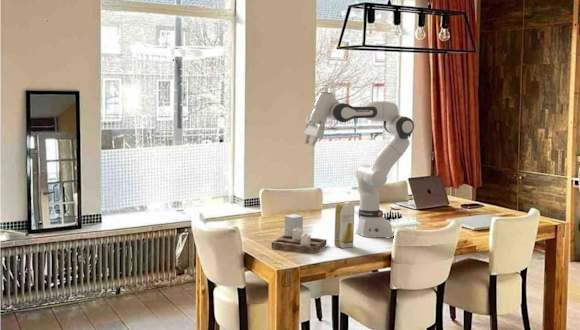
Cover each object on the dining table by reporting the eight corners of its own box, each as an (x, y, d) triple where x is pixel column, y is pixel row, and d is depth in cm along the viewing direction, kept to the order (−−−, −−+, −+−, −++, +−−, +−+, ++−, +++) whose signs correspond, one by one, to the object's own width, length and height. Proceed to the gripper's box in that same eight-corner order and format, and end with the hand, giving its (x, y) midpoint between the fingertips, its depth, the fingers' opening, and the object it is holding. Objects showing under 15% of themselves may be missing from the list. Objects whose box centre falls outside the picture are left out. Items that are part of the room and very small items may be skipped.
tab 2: (310, 246, 332) (310, 233, 331) (307, 248, 329) (308, 234, 328) (302, 246, 333) (303, 232, 332) (300, 247, 330) (300, 234, 329)
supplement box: (302, 238, 354) (303, 216, 352) (292, 240, 349) (292, 217, 347) (294, 235, 359) (294, 213, 358) (284, 237, 355) (284, 215, 353)
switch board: (326, 245, 341) (326, 239, 341) (315, 253, 325) (315, 247, 324) (284, 240, 350) (284, 234, 349) (271, 248, 333) (271, 242, 333)
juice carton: (341, 249, 334) (343, 203, 331) (332, 245, 340) (333, 201, 337) (355, 246, 339) (356, 202, 336) (345, 243, 346) (346, 199, 342)
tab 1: (301, 241, 343) (302, 228, 342) (299, 242, 340) (299, 229, 339) (294, 240, 345) (294, 227, 344) (292, 241, 341) (292, 228, 340)
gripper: (330, 123, 340) (321, 148, 340) (315, 120, 359) (307, 144, 359) (319, 120, 338) (311, 145, 338) (306, 117, 357) (297, 140, 357)
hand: (309, 144), depth 349 cm, fingers open, 8 cm apart
